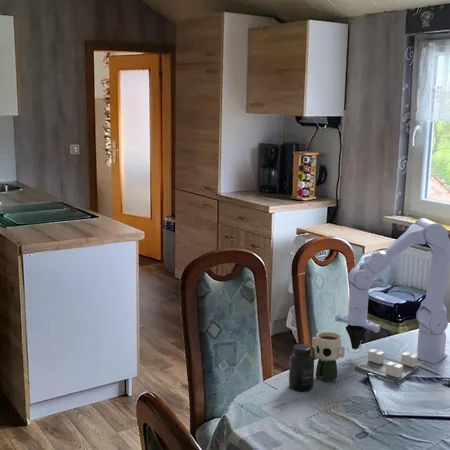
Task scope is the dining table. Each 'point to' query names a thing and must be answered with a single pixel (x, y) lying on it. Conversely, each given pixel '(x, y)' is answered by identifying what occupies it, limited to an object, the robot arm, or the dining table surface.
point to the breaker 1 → (394, 369)
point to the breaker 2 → (409, 359)
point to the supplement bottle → (301, 369)
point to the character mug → (327, 354)
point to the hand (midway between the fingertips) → (355, 348)
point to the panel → (381, 369)
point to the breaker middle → (376, 356)
